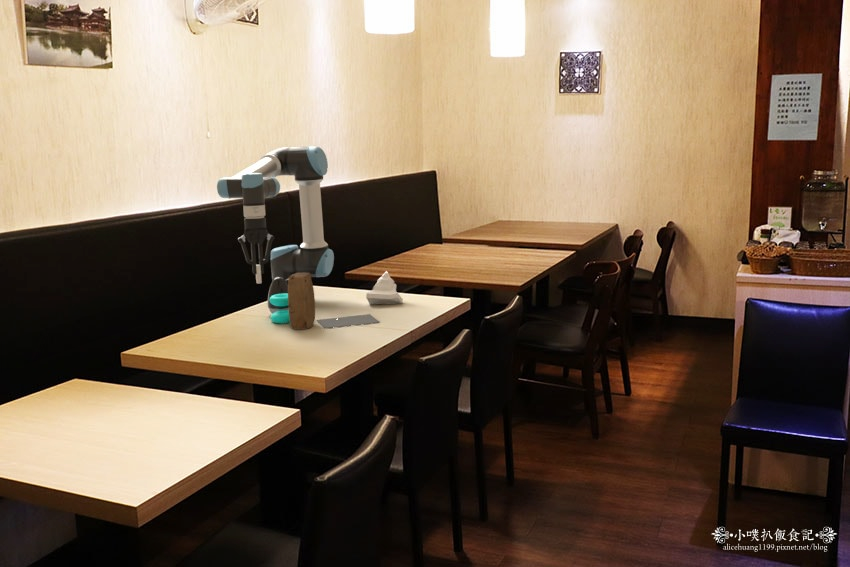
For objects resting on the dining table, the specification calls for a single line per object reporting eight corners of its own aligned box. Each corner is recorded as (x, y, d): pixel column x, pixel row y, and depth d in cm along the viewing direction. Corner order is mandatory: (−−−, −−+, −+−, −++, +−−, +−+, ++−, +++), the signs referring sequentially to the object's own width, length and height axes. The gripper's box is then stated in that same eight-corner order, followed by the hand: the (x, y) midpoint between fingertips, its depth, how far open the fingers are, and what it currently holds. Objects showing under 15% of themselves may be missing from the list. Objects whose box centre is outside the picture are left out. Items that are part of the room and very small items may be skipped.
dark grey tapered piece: (298, 315, 310) (295, 277, 307) (272, 318, 306) (269, 280, 303) (290, 310, 319) (288, 273, 316) (265, 313, 315) (262, 276, 312)
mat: (316, 320, 301) (316, 319, 301) (369, 314, 308) (369, 314, 308) (324, 328, 288) (324, 328, 288) (380, 322, 295) (380, 321, 295)
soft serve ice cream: (366, 305, 332) (367, 271, 333) (401, 306, 333) (403, 273, 334) (366, 303, 320) (367, 268, 321) (403, 305, 321) (404, 270, 322)
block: (306, 330, 286) (303, 276, 282) (287, 329, 288) (284, 275, 284) (318, 323, 296) (315, 271, 293) (300, 322, 298) (297, 270, 295)
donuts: (301, 295, 299) (278, 299, 293) (302, 320, 301) (279, 325, 295) (286, 291, 307) (264, 295, 300) (288, 316, 309) (265, 321, 302)
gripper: (237, 219, 274) (241, 286, 278) (275, 217, 278) (278, 283, 282) (234, 217, 280) (239, 282, 285) (271, 215, 285) (275, 279, 289)
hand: (259, 282), depth 284 cm, fingers closed
